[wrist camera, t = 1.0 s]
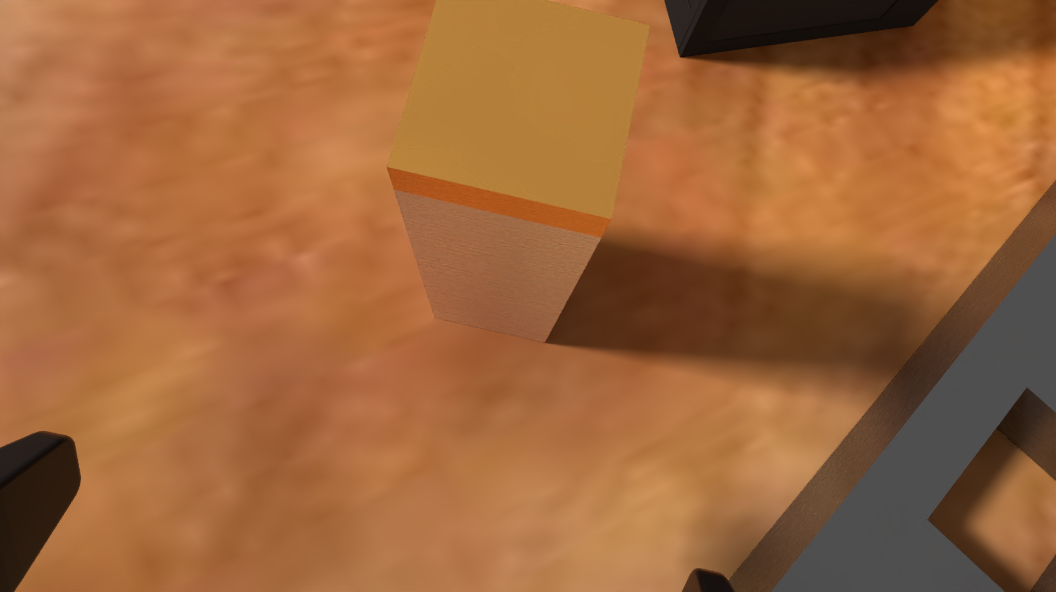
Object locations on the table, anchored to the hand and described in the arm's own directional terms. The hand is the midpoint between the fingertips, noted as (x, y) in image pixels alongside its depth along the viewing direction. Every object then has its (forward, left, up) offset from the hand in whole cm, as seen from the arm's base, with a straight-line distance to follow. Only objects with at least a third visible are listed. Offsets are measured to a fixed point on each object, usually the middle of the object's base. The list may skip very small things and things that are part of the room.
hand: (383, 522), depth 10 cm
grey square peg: (+6, -4, -13) cm, 15 cm away
